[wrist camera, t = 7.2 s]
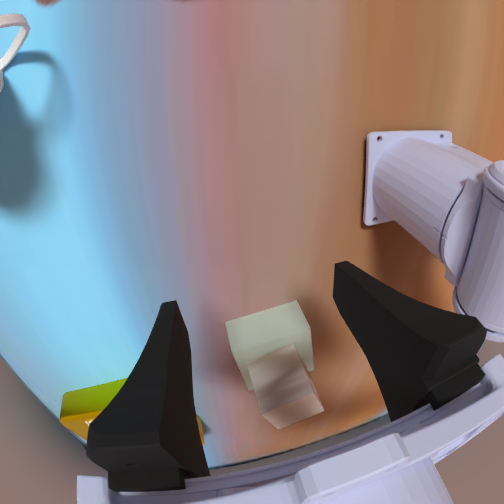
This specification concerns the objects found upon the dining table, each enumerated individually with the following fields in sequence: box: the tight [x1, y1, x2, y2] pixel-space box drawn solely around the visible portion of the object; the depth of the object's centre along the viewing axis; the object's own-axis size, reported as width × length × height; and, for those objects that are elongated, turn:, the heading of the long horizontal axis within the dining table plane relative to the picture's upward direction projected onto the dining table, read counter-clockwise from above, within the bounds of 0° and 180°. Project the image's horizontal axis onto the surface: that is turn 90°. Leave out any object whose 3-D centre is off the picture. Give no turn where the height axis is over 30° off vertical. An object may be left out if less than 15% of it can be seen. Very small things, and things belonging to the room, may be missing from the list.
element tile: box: [60, 378, 204, 446], centre depth 33 cm, size 15×15×5 cm
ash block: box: [247, 342, 324, 429], centre depth 25 cm, size 4×4×6 cm
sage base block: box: [225, 300, 314, 391], centre depth 29 cm, size 7×7×4 cm
